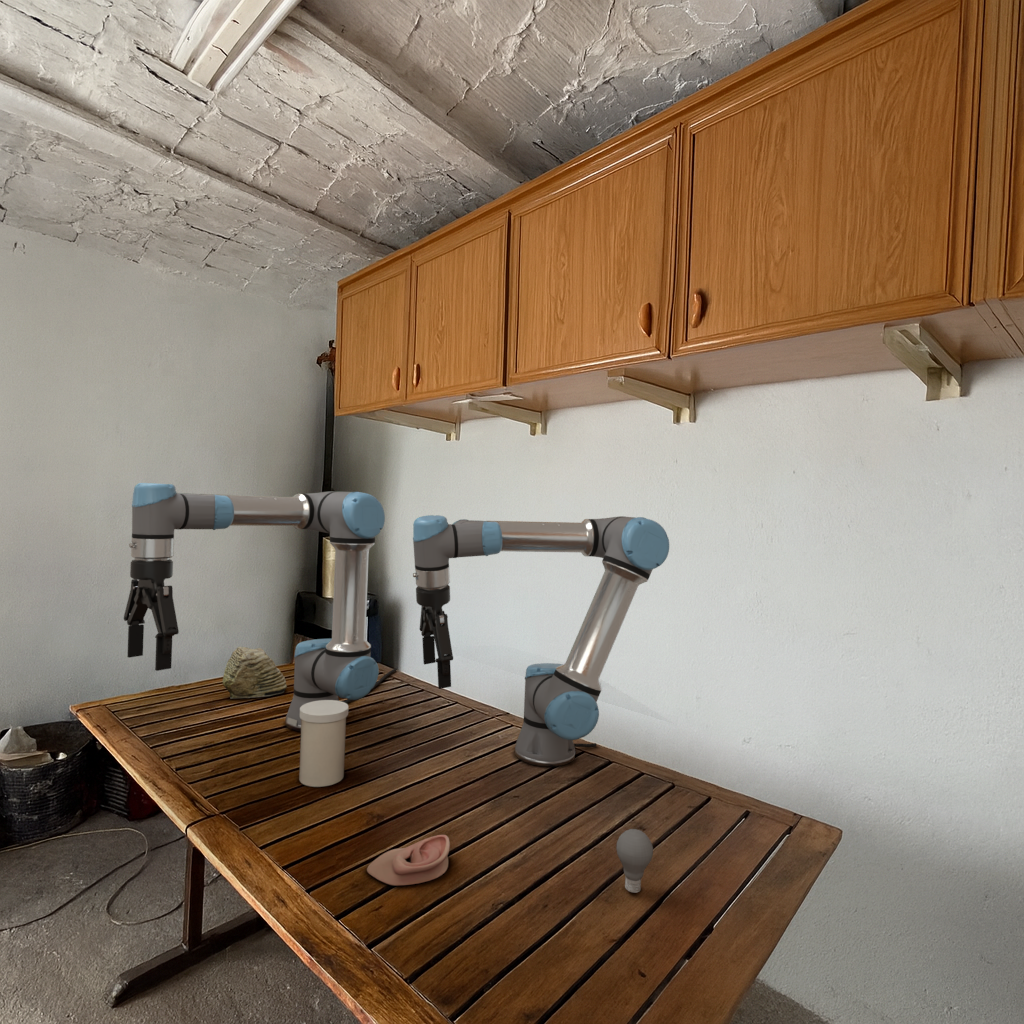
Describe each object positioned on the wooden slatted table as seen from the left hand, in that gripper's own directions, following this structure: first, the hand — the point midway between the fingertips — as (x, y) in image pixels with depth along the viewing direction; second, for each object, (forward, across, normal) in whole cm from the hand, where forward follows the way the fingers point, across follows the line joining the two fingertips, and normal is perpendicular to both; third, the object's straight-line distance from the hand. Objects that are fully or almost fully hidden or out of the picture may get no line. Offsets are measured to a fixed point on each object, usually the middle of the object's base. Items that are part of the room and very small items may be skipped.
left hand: (148, 662), depth 129 cm
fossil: (+28, -47, +50) cm, 74 cm away
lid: (+12, +17, +31) cm, 37 cm away
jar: (+28, +17, +31) cm, 45 cm away
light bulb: (+28, +90, +41) cm, 103 cm away
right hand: (+4, +35, +48) cm, 59 cm away
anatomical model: (+28, +58, +20) cm, 67 cm away
